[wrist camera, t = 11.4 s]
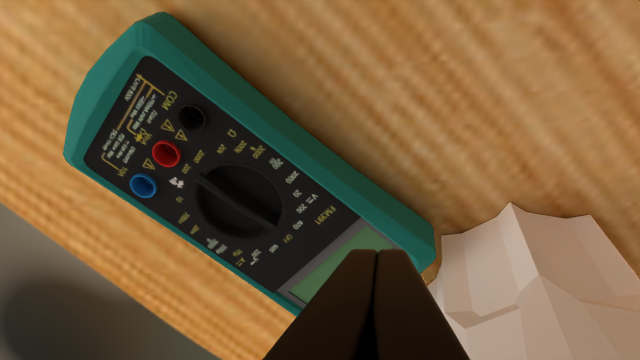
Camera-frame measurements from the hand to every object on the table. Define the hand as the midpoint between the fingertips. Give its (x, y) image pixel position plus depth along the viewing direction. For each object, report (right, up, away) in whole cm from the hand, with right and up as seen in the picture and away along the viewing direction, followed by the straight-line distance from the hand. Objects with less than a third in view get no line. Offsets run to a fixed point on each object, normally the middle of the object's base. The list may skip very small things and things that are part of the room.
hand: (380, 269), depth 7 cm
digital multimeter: (-3, +2, +13) cm, 14 cm away
